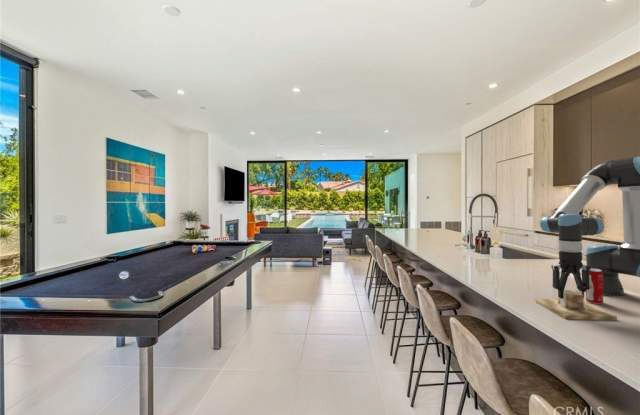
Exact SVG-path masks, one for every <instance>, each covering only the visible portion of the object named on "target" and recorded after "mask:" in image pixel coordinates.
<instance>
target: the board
mask: <svg viewBox="0 0 640 415" xmlns="http://www.w3.org/2000/svg"><path fill="white" fill-rule="evenodd" d="M534 300H535V303H536V304H538V305H539V306H541V307H543V308H545V309H547V310H549V311H550V312H552V313H553V314H556V315H558V316H559V317H560V318H563V319H565V320H591V321H592V320H598V321H618V316H617V315H615V314H612V313H611V312H608V311H606V310H603V309H601V308H600V307H596V306H594V305H593V304H591V303H589V302H587V301H586V302H585V301H584V308H585V310H570V309H568V308H566V307H563V306H561V305H560V304H558V301H559V298H558V299H557V298H555V299H554V298H553V299H552V298H551V299H549V298H536V299H534Z"/></svg>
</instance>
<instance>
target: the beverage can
mask: <svg viewBox="0 0 640 415" xmlns="http://www.w3.org/2000/svg"><path fill="white" fill-rule="evenodd" d="M589 285H590V289H589V290H586V292H585V300H586V303H588V304H592V305H593V304H594V305H603V303H604V295H603V272H602V270H600V269H595V268H590V270H589Z"/></svg>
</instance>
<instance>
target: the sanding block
mask: <svg viewBox="0 0 640 415" xmlns="http://www.w3.org/2000/svg"><path fill="white" fill-rule="evenodd" d="M564 291H566V304H567V305H566V308H568V309H570V310H585V308H584V302H585V301H584V299H585V298H584V299H583V295H582V294H579V293H577V292H575V290H572V289H564ZM558 299H559V301H558V304H560V298H559V297H558Z"/></svg>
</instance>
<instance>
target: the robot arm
mask: <svg viewBox="0 0 640 415" xmlns="http://www.w3.org/2000/svg"><path fill="white" fill-rule="evenodd" d="M610 185H611V186H612V185H617V188H618V189H619V190H620V191H621V193H622V224H623V226H622V227H623V230H622V231H623V233H622V234H623V243H621V244H620V245H617V244H616V245H615V244H600V245H598V244H596V245H588V246H587V247H586V252H585V258H586V264H584V263H583V262H582V261H583V252H582V251H583V237H584V236H585V237H586V236H596V235H599V234H601V233H602V232H603V231H604V229H605V223H604V222H603V220H601V219H600V218H598V217H592V216H591V217H590V216H589V217H583V216H582V215H581V214H580V213H581V211H582V210H583V209H584V208H585V207H586V205H587V204H588V203H589V202H590V201H591V200H592V198H594V196H595V195H596V194H597V193H598V192H599V191H603V189H604V188H606V187H607V186H610ZM539 225H540V228H541V230H542V231H543V232H545V233H550V234H551V233H552V234H558V249H559V250H558V259H559V262H558V264H551V269H552V288H553V289H556V290H557V297H558V299H559V298H560V305H561V306H563V307H566V305H567V304H566V291H564V290H566V289H565V288H566V285H567V281H568V277H569V276H570V274H572V276H573V279H574V282H575V285H576V288H577V289H575V290H574V292H577V293H579V294H582V295H583V299H585V293H586V290H589V289H590V285H589V270H590V268H595V269H600V270H602V272H603V296H614V297H615V296H616V297H617V296H623V295H624V294H625V289H624V287H623V285H622V283H621V282H622V281H621V280H620V275H619V274H621V275H627V276H633V277H638V278H640V156H635V157H634V156H633V157H627V158H619V159H611V160H606V161H604V162H601V163H599V164H597V165H595V166H594V167H593V168H592V169H590V170H589V171H588V172H586V173H585V174H584V175H583V176H582V178H580V183H579V185H577V187H575V188H574V190H573V191H572V192H571V194H569V196H568V197H566V199H565V200H564V201H563V203H562V204H561V205H560V206H559V207H558V208H557V209H556V210H555V212H554V213H553V214H552V215H551V216H544V217H543V216H542V217H541V220H540V221H539ZM560 270H561V271H560Z"/></svg>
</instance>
